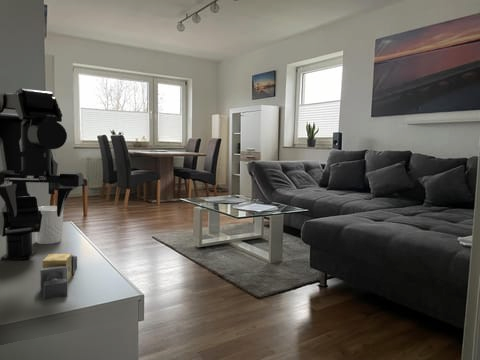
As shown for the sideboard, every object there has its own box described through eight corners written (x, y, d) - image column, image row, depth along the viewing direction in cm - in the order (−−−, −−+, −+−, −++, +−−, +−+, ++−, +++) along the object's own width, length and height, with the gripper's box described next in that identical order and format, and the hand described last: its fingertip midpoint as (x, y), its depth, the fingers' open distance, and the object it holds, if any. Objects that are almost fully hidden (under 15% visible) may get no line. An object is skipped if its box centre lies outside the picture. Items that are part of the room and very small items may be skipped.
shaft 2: (57, 267, 86) (57, 249, 86) (78, 267, 87) (78, 249, 87) (50, 276, 81) (50, 256, 81) (73, 275, 82) (73, 256, 82)
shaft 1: (40, 289, 74) (40, 268, 73) (66, 285, 76) (66, 265, 76) (42, 299, 69) (41, 277, 69) (69, 295, 72) (69, 273, 71)
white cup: (56, 236, 113) (56, 204, 112) (68, 241, 108) (68, 208, 107) (29, 241, 107) (28, 207, 106) (40, 246, 102) (40, 211, 101)
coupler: (43, 286, 76) (42, 260, 75) (49, 278, 80) (49, 254, 79) (66, 285, 77) (66, 260, 76) (71, 277, 81) (71, 253, 80)
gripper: (88, 148, 90) (88, 209, 92) (5, 144, 86) (6, 209, 88) (78, 149, 79) (77, 219, 81) (-18, 145, 75) (-16, 219, 77)
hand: (37, 216), depth 82 cm, fingers open, 9 cm apart
